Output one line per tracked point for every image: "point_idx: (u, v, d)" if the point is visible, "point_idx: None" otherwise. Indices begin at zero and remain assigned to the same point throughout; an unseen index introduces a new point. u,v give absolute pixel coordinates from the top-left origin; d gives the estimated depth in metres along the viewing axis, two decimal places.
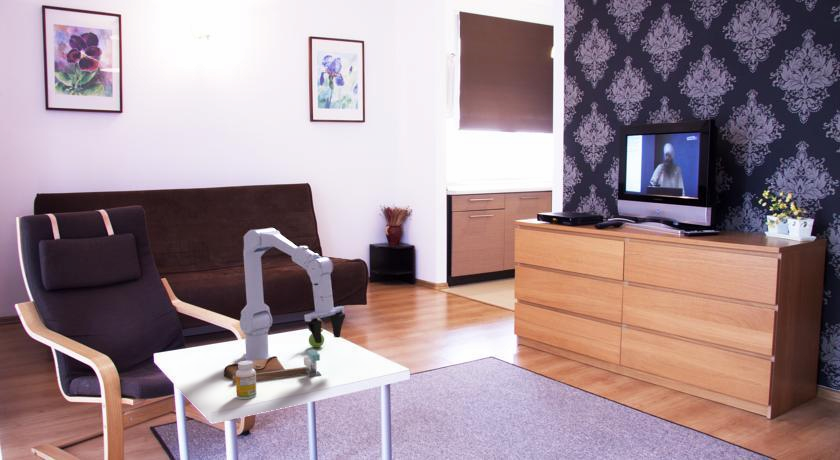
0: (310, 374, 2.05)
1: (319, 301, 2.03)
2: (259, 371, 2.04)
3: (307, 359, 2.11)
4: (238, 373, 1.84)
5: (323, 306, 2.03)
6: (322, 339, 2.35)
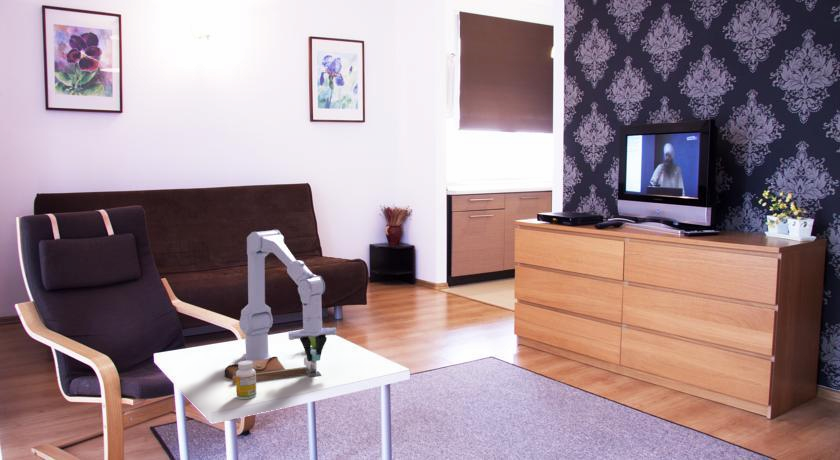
0: (310, 374, 2.05)
1: (305, 321, 2.02)
2: (260, 371, 2.04)
3: None
4: (238, 373, 1.84)
5: (307, 327, 2.01)
6: None
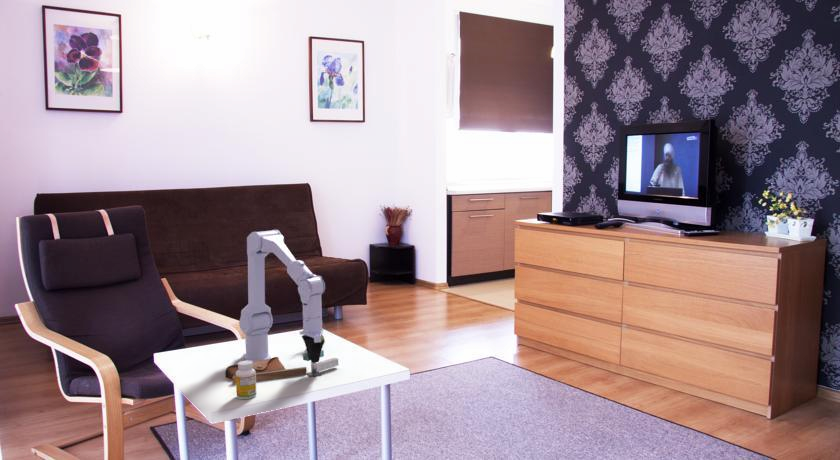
0: (310, 374, 2.05)
1: None
2: (261, 372, 2.04)
3: (329, 359, 2.10)
4: (238, 373, 1.84)
5: None
6: None
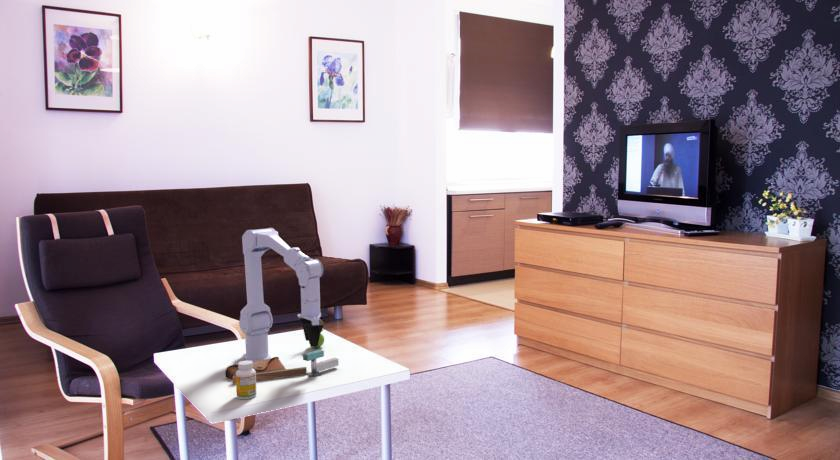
0: (310, 374, 2.05)
1: None
2: (261, 372, 2.04)
3: (329, 359, 2.10)
4: (238, 373, 1.84)
5: None
6: (322, 339, 2.35)
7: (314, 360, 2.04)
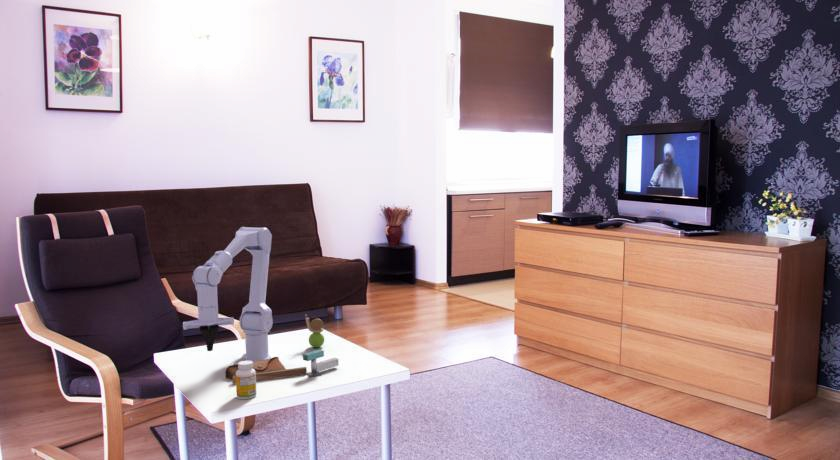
0: (310, 374, 2.05)
1: (199, 310, 1.98)
2: (261, 372, 2.04)
3: (329, 359, 2.10)
4: (238, 373, 1.84)
5: (201, 316, 1.98)
6: (322, 339, 2.35)
7: (314, 360, 2.04)
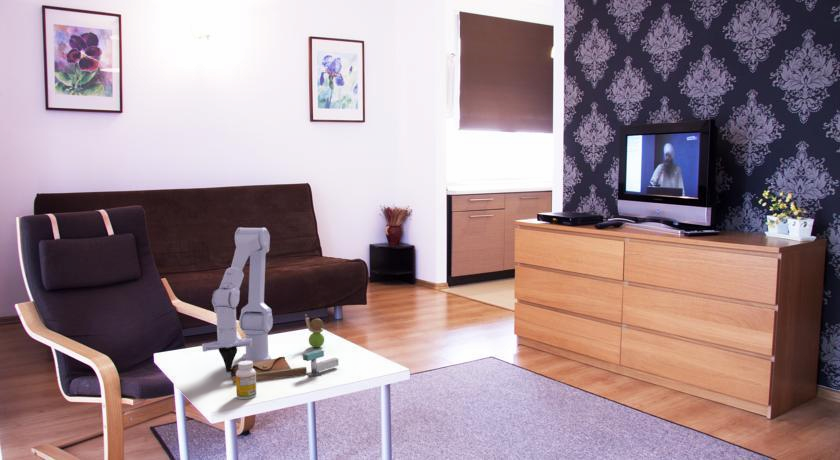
0: (310, 374, 2.05)
1: (218, 332, 2.01)
2: (266, 371, 2.04)
3: (329, 359, 2.10)
4: (238, 373, 1.84)
5: (221, 338, 2.00)
6: (322, 339, 2.35)
7: (314, 360, 2.04)
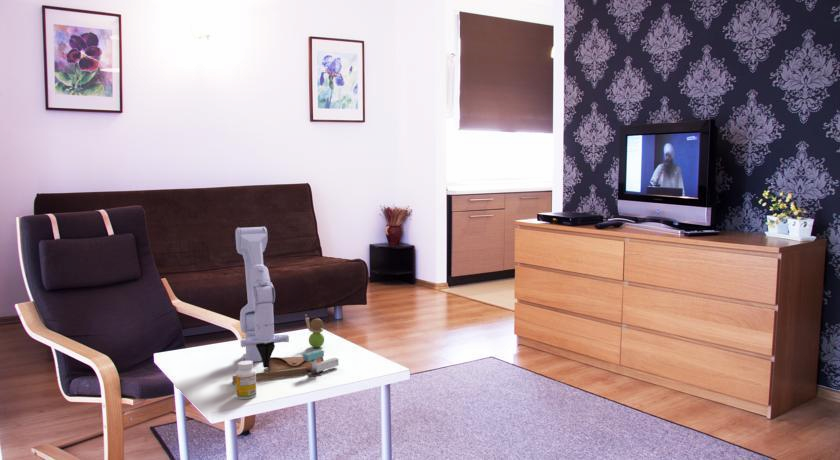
0: (310, 374, 2.05)
1: (256, 328, 2.05)
2: None
3: (329, 359, 2.10)
4: (238, 373, 1.84)
5: (259, 334, 2.05)
6: (322, 339, 2.35)
7: (314, 360, 2.04)
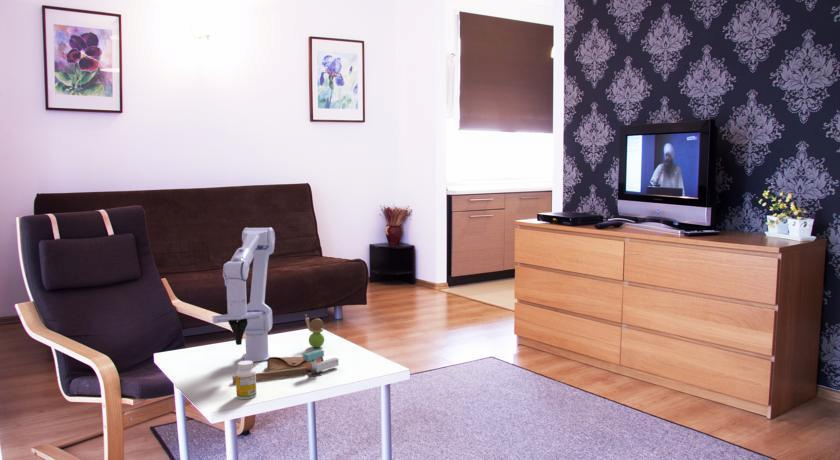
0: (310, 374, 2.05)
1: (228, 305, 2.01)
2: (292, 368, 2.07)
3: (329, 359, 2.10)
4: (238, 373, 1.84)
5: (231, 310, 2.01)
6: (322, 339, 2.35)
7: (314, 360, 2.04)
